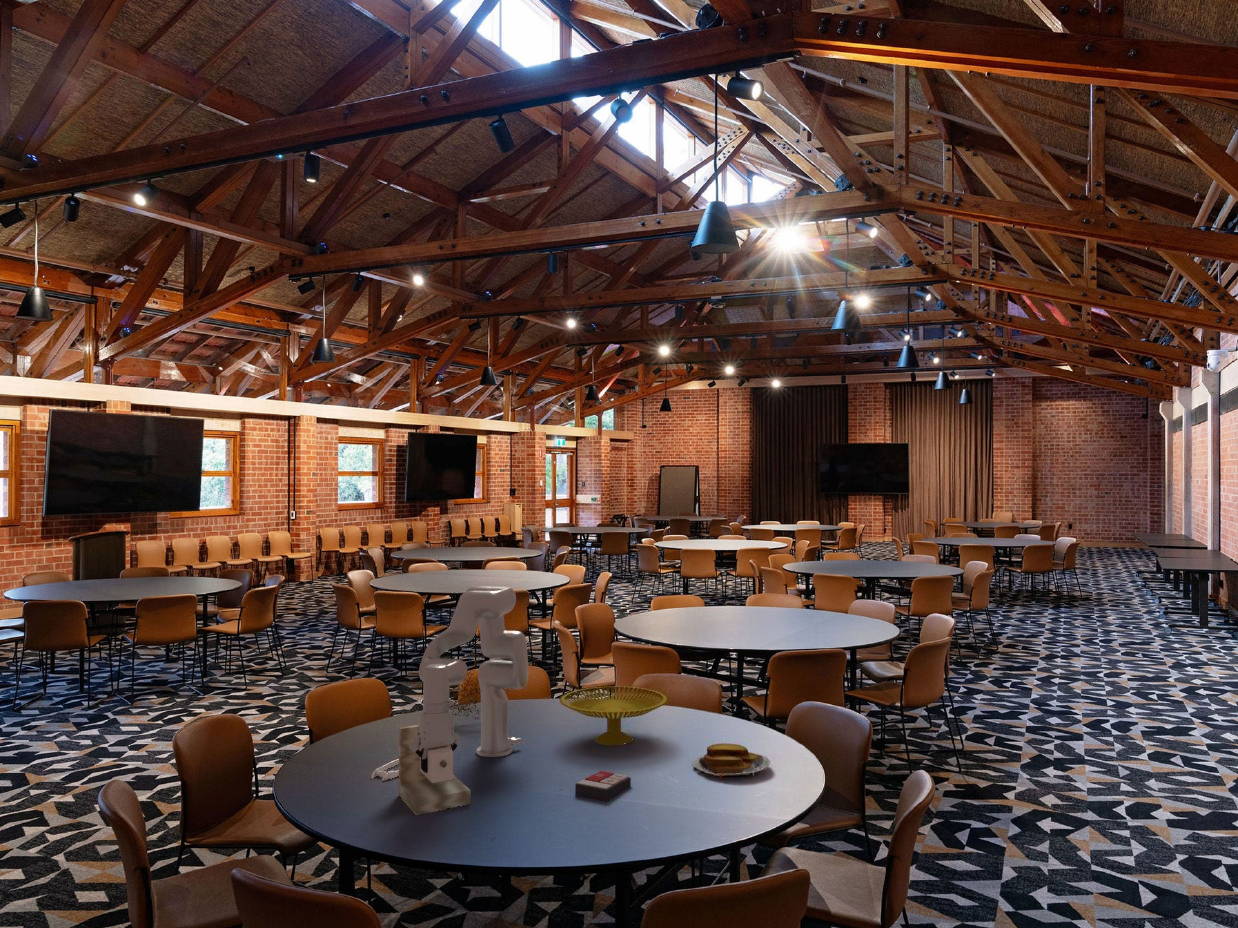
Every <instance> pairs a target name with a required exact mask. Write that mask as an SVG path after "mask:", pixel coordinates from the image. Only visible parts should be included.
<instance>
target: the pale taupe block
mask: <svg viewBox="0 0 1238 928" xmlns="http://www.w3.org/2000/svg"><path fill="white" fill-rule="evenodd" d="M420 751H421V746H420ZM426 758H427V759H428V772H427V773H425V772H423V770H422V769H421V757H420V771H421V772H422V773H423V774H424V775H425V776H426V777H427V778H428V779H429V780H430V781H431V782H432V783H436V782H441V781H446V780H452V779H453V775H454V769H453V768H454V751H452V750H451V749H450V748H449V747H446V746H443V747H438V748H432V749H429V750H428V753H427V756H426Z"/></svg>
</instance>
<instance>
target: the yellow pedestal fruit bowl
mask: <svg viewBox="0 0 1238 928" xmlns="http://www.w3.org/2000/svg"><path fill="white" fill-rule="evenodd" d="M605 690H606V691H605ZM601 692H602V693H601ZM610 692H611V693H610ZM640 692H641V693H640ZM614 693H615V694H614ZM606 694H607V695H606ZM610 694H611V695H610ZM618 694H619V695H618ZM622 695H623V696H622ZM630 695H631V696H630ZM558 701H559V702H560V704H561V705H562V706H564V707H566V708H568V709H570V710H572V711H575V712H577V713H579V714H580V715H584V716H586V717H592V718H598V719H599V718H601V719H603V718H604V719H606V721H607V722H606V732H604V733H602V734H600V735H598V736H596V737H595V738H594V741H595V742H596V743H597V744H599V743H601V744H600V745H603V744H604V746H612V745H615V746H622V745H621V744H624V743H628V744H630V743H629V742H630V741H632V739H633V740H634V738H633V736H631V735H629V734H626V733H625V732H623V731H622V718H623V719H626V718H628V719H629V718H633V717H634V718H635V717H640V716H644V715H646V714H648V713H650V712H652V711H654V710H655V711H656V709H659V708H661V707H663V706H665V705H666V704H667V703H668V702H669V697H668V696H667V695H666V694H664V693H662V692H659V691H656V690H655V689H654V690H653V689H649V688H644V687H638V686H637V687H635V686H622V685H621V686H620V685H619V686H618V685H617V686H615V685H614V686H598V687H596V686H595V687H586V688H581V689H577V690H573V691H570V692H567V693H564V694H562V695H561V696H560V698H559V699H558ZM632 742H633V741H632Z"/></svg>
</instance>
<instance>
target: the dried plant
mask: <svg viewBox="0 0 1238 928" xmlns="http://www.w3.org/2000/svg"><path fill="white" fill-rule="evenodd" d="M480 658H481V657H480V656H478V658H477V659H478V660H477V659H475V660H474V662H473V663H474V666H472V668H471V670H472V672H473V673H471V671H467V678H468V679H469V680H468V679H467V678H465V679H464V681H463V682H464V683H463V685H464V686H463V685H462V683H460V684H457V685H452V686H450V688H449V700H450V701H453V700H454V699H455V700H454V705H453V706H450V710H451V712H452V716H453V717H454V716H455V717H456V716H458V717H460V716H463V717H466V718H469V716H470V717H471V718H474V720H481V717H480V718H479V717H476V716H475V717H474V716H471V715H470V714H469V712H470V713H471V714H473V712H475V714H476V715H479V714H480V708H478V709H477V705H476V704H477V702H479V703H480V701H478V699H481V692H480V684H479V679H478V677H477V678H476V677H475V678H472V676H473V674H474V672H475V670H473V669H474V668H475V667H476V666H478V662H479V661H480ZM490 660H493V658H490ZM531 665H532V666H534V664H533V663H531ZM531 665H529V663H528V668H529V667H530V666H531ZM465 681H466V682H467V683H465ZM475 681H476V682H475ZM460 686H461V687H462V688H463V689H461V687H460ZM469 686H471V687H470V690H469V689H468V687H469ZM455 691H456V692H455ZM473 691H474V692H473ZM505 691H506V692H507V691H509V689H506V690H505ZM506 692H505V693H506ZM479 695H480V696H479ZM459 696H461V698H460V699H458V698H459ZM466 698H467V699H466ZM457 699H458V700H457ZM465 699H466V701H465ZM472 702H473V704H472ZM471 704H472V706H471ZM470 706H471V707H470ZM473 707H474V708H473ZM472 709H473V710H472ZM455 710H457V711H458V712H457V711H456V712H455ZM459 713H460V714H459ZM462 713H463V714H462ZM466 713H467V714H466Z"/></svg>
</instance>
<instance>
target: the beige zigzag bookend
mask: <svg viewBox="0 0 1238 928" xmlns="http://www.w3.org/2000/svg"><path fill="white" fill-rule="evenodd" d="M417 732H418V724H415V725H409V726H402V727H399V728H398V734H399V735H398V759H399V765H398V770H399V777H398V796H400V797H401V798H400V797H399V798H400V799H401V800H402V801H403V802H404V804H405V803H406V804H405V805H406V806H407V807H408V808H409V810H410V811H411V812H412V813H413V814H414V815H415V816H420V815H424V814H425V815H426V814H430V813H434V812H439V810H440V811H444V810H448V809H447V808H450V809H454V807H455V808H458V807H457V806H460V807H463V805H464V806H468V805H471V803H472V802H471V799H472V796H471V795H472V794H471V793H472V792H471V789H470V788H469V787H468V786H467V785H466V784H464V783H463V782H462V781H461V780H460V779H459V778H458V777H456V776H455V775H454V774H453V779H452V780H446V781H441V782H436V783H432V782H431V781H430V780H429V779H428V778H427V777H426V776H425V775H424V774H423V773H422V772H421V771H420V756H418V755H417V754H416V753H415V752H414V751H413V750H411V749H410V745H411V744H412V743H413V742H414V741H415V739H416V738H417ZM450 746H451V745H450ZM417 749H418V750H420V746H419V745H417Z"/></svg>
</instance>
